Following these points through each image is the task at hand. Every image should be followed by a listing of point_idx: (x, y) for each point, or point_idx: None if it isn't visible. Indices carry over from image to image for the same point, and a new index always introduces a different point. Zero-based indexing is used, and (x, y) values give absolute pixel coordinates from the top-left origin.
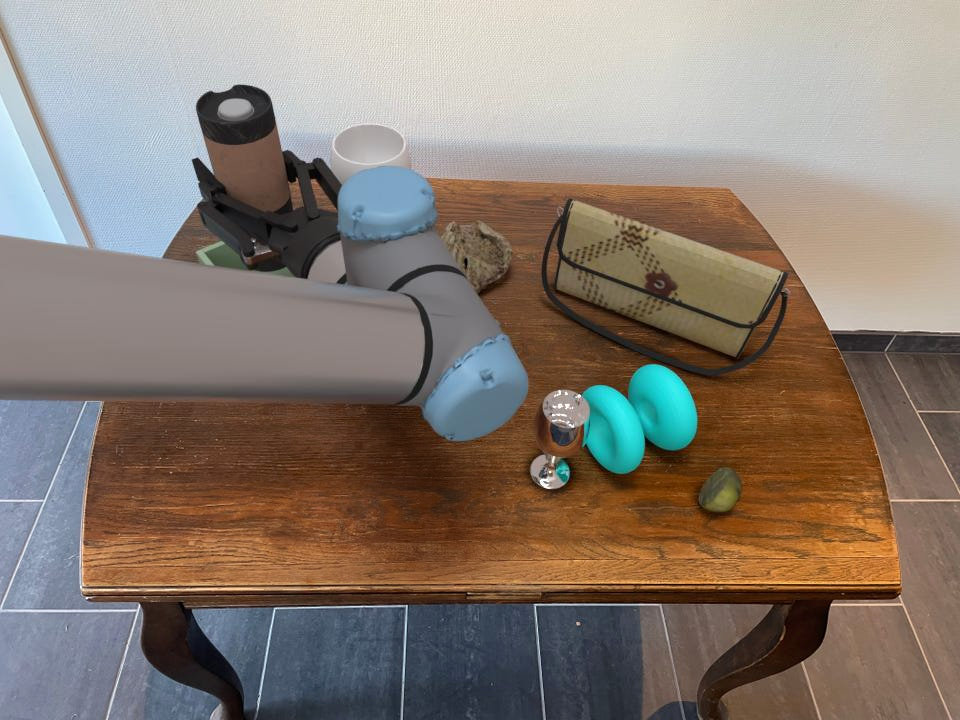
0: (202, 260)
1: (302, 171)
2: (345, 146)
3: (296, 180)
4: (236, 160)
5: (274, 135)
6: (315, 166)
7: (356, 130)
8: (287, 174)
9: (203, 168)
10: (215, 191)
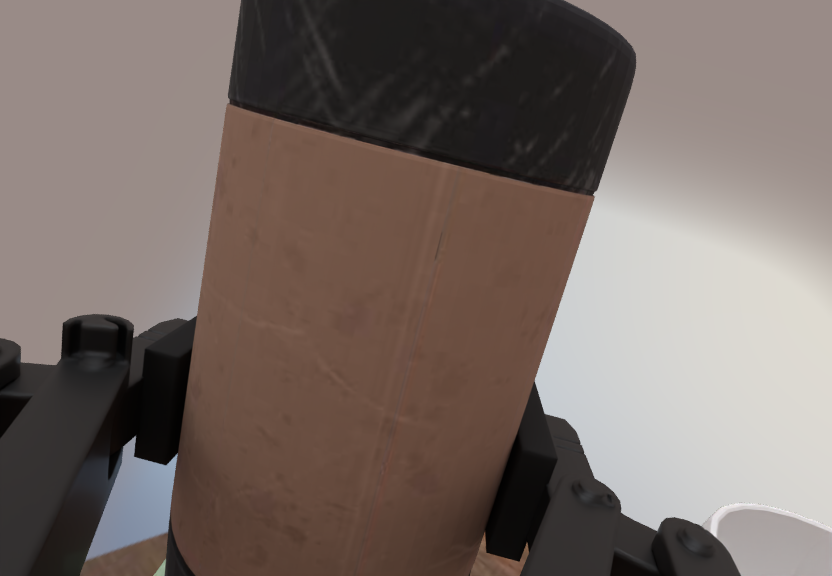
0: (156, 572)
1: (575, 539)
2: (730, 552)
3: (520, 557)
4: (242, 225)
5: (537, 227)
6: (669, 564)
7: (794, 532)
8: (497, 503)
9: None
10: (102, 339)
